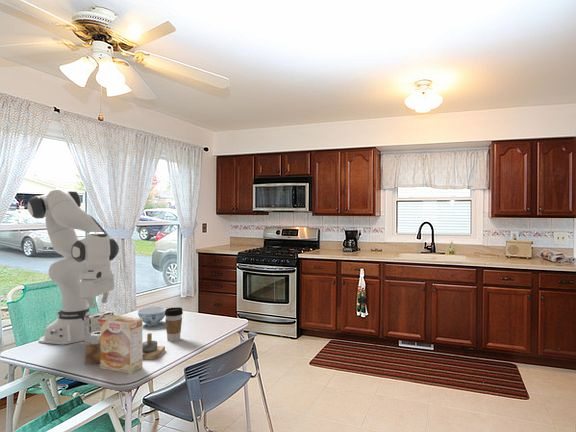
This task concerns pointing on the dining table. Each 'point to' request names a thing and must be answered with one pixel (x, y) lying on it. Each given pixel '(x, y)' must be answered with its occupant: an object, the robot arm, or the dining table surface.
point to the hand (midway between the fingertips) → (98, 305)
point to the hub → (151, 348)
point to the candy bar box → (93, 323)
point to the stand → (92, 354)
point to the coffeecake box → (121, 343)
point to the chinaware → (152, 315)
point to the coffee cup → (173, 323)
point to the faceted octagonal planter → (95, 337)
